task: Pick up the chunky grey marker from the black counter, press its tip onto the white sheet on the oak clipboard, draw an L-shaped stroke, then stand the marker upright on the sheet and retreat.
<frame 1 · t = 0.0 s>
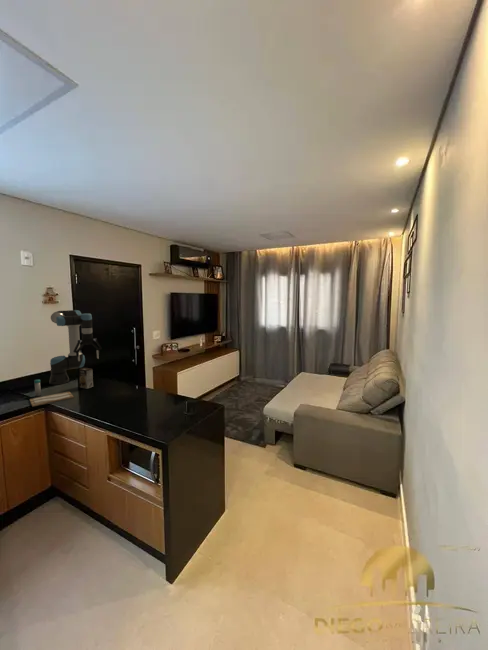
hand: (88, 359, 227), 28 cm above the table, fingers open, 13 cm apart
coffee box: (86, 387, 246), on the table
marker: (38, 396, 223), on the table
writing board: (52, 399, 218), on the table
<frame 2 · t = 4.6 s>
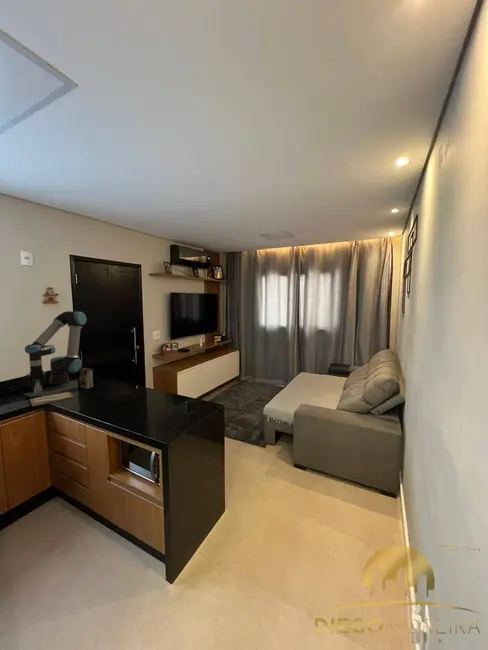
hand: (38, 394, 223), 2 cm above the table, fingers closed on marker, 3 cm apart
marker: (38, 396, 223), on the table, touching gripper
everything else where it was.
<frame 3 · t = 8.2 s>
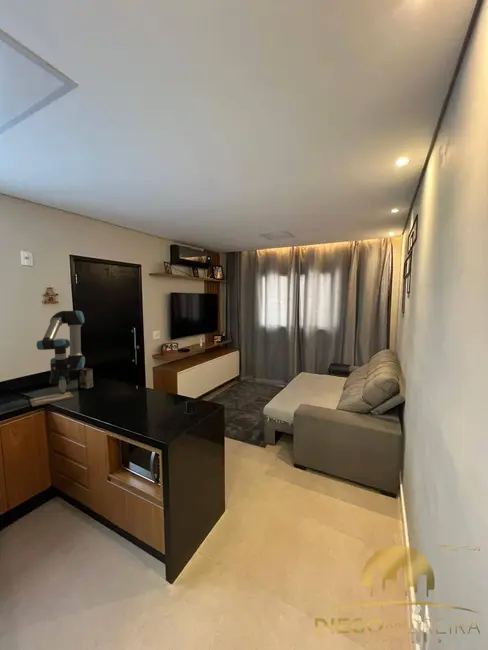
hand: (62, 387, 225), 6 cm above the table, fingers closed on marker, 3 cm apart
marker: (62, 393, 225), point 2 cm above the table, touching gripper
everything else where it was.
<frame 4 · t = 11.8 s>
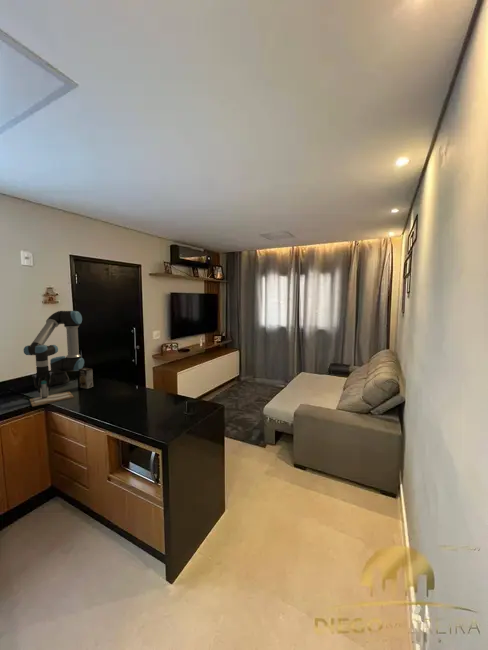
hand: (44, 395, 217), 3 cm above the table, fingers closed on marker, 3 cm apart
marker: (44, 397, 218), point 1 cm above the table, touching gripper
everything else where it was.
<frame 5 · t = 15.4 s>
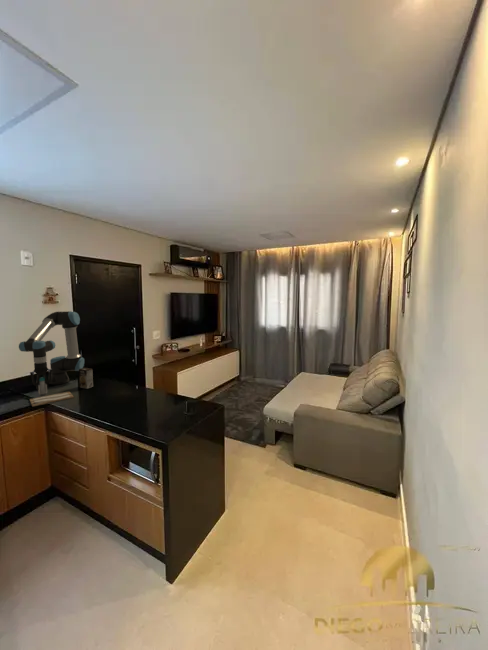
hand: (42, 393, 210), 7 cm above the table, fingers closed on marker, 3 cm apart
marker: (43, 395, 210), point 6 cm above the table, touching gripper
everything else where it was.
when the fingers open (4 cm above the table, at t = 18.9 s): marker drops 2 cm, resting on writing board.
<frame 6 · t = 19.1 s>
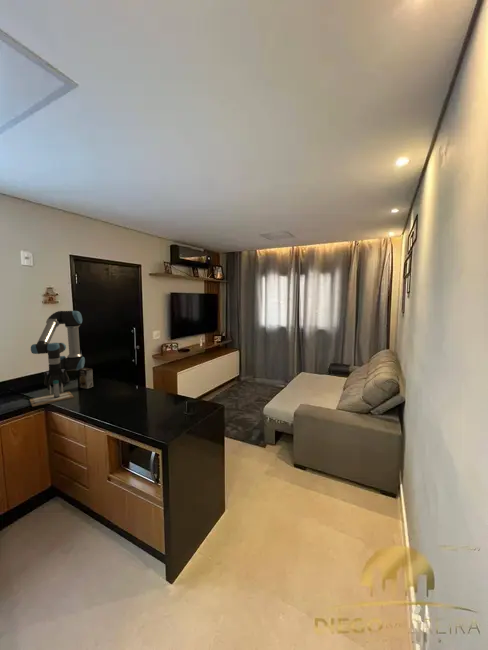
hand: (56, 392, 218), 5 cm above the table, fingers open, 7 cm apart
marker: (56, 397, 219), point 1 cm above the table, touching writing board
everything else where it was.
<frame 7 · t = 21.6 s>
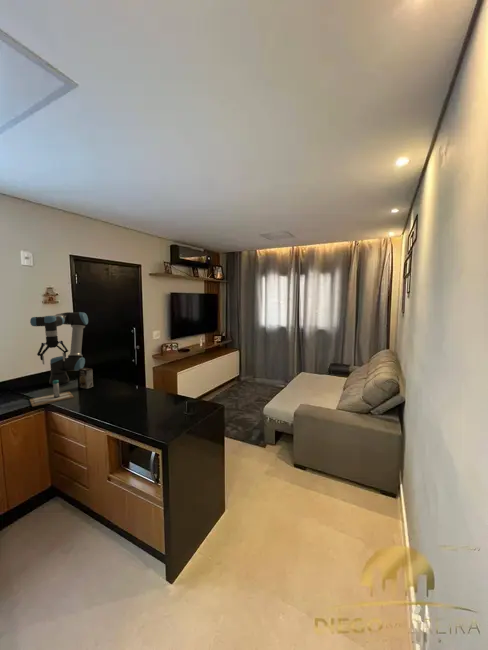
hand: (54, 362, 223), 27 cm above the table, fingers open, 13 cm apart
nothing on the table moved.
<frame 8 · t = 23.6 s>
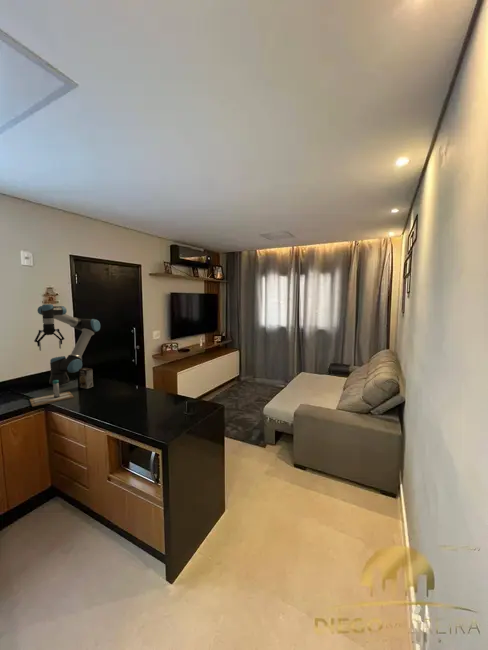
hand: (50, 349, 233), 35 cm above the table, fingers open, 13 cm apart
nothing on the table moved.
at the end: marker inside the target area on the writing board (3.2 cm from its centre), point 1.2 cm above the writing board's base; marker tilted 1°; the gripper is holding nothing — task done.
